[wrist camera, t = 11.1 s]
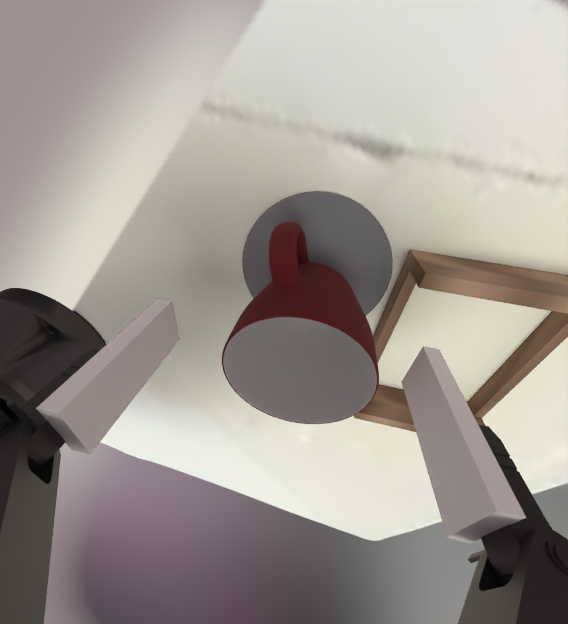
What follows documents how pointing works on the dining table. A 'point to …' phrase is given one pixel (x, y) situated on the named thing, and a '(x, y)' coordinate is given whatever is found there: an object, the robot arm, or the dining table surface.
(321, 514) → the dining table surface
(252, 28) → the dining table surface
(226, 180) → the dining table surface
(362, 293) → the coaster
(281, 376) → the mug
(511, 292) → the wooden tray frame
